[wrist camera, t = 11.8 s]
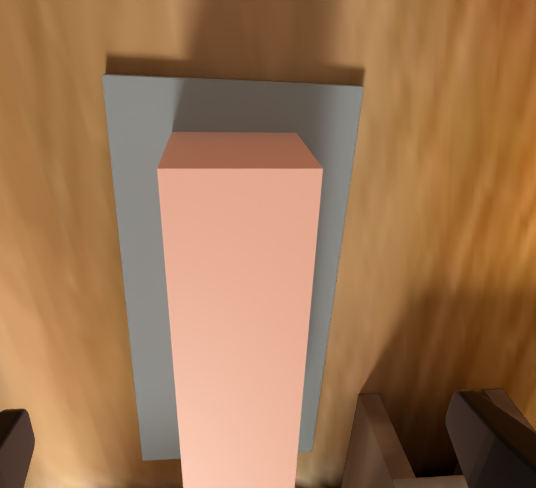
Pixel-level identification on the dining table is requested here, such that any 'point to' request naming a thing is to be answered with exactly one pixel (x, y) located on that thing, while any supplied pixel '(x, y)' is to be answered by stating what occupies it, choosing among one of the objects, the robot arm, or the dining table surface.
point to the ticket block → (239, 300)
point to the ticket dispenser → (396, 448)
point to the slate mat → (150, 227)
